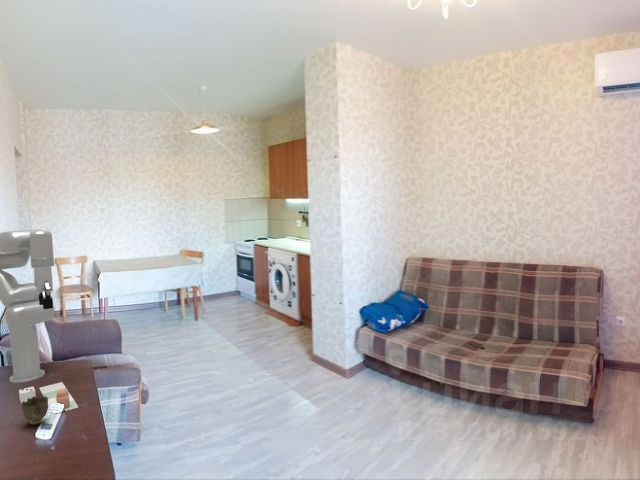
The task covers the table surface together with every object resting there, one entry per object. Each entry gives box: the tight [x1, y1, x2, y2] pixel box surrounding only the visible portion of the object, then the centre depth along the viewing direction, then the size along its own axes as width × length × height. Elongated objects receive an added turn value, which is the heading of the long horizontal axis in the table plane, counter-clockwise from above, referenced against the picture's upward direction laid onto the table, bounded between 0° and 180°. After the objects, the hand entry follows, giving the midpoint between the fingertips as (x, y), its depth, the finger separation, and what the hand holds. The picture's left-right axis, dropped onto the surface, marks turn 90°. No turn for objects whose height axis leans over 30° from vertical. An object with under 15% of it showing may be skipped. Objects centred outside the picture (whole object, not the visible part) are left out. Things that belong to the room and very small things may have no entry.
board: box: [39, 381, 79, 412], centre depth 165 cm, size 30×8×1 cm, turn 40°
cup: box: [20, 395, 49, 426], centre depth 146 cm, size 8×7×8 cm
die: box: [18, 386, 37, 406], centre depth 163 cm, size 4×4×5 cm
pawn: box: [56, 388, 70, 409], centre depth 156 cm, size 4×4×6 cm
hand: (46, 306), depth 170 cm, fingers open, 9 cm apart
